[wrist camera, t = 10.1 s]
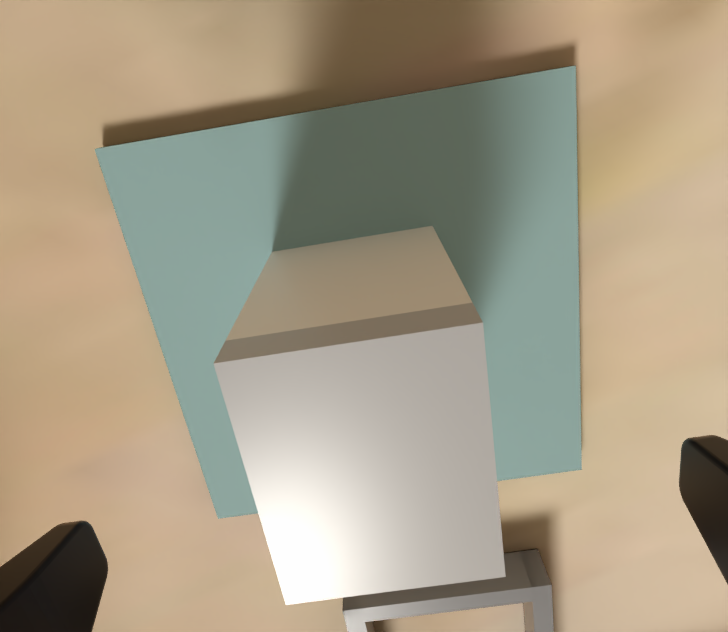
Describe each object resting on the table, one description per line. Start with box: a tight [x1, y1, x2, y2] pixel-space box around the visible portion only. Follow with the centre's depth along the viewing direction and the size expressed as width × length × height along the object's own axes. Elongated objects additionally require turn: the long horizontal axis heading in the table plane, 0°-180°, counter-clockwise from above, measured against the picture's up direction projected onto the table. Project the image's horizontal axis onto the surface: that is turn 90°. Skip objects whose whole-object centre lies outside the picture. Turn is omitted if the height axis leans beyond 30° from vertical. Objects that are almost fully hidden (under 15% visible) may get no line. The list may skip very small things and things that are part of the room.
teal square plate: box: [95, 66, 582, 519], centre depth 15 cm, size 11×11×1 cm
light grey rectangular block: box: [213, 226, 506, 605], centre depth 12 cm, size 4×5×6 cm
